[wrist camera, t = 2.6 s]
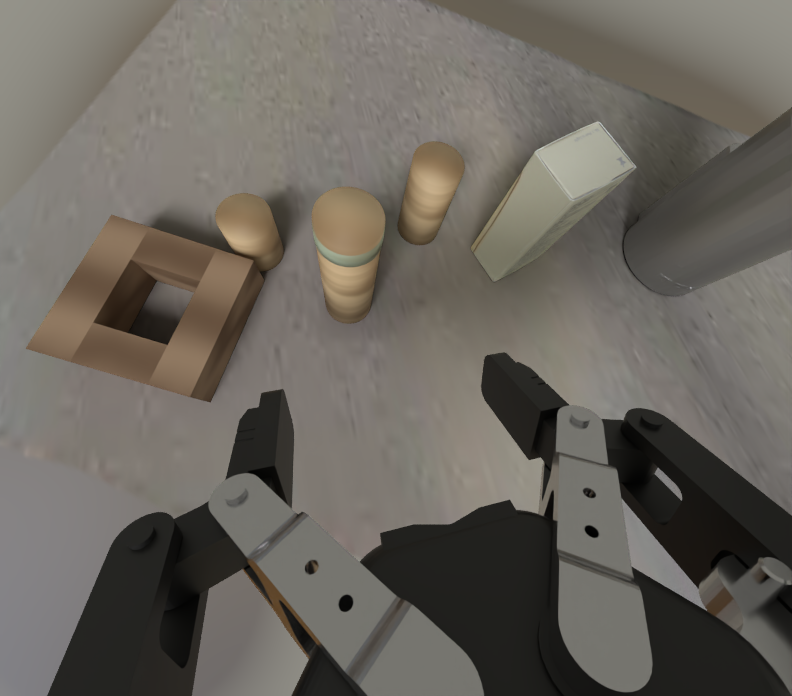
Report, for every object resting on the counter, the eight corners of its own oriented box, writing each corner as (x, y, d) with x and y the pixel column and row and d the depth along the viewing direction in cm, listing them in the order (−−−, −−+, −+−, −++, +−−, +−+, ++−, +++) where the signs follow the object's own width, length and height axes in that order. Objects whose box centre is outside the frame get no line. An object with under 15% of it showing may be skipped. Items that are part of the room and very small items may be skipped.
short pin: (247, 226, 30) (229, 186, 26) (290, 239, 31) (279, 203, 26) (229, 263, 29) (206, 228, 24) (273, 277, 29) (259, 246, 25)
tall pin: (333, 275, 30) (325, 176, 19) (377, 289, 30) (394, 200, 19) (318, 315, 29) (299, 236, 18) (363, 330, 29) (373, 260, 18)
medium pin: (403, 204, 33) (420, 134, 26) (441, 217, 33) (469, 152, 26) (392, 237, 32) (406, 174, 24) (432, 250, 32) (458, 192, 25)
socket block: (139, 240, 29) (111, 214, 25) (264, 280, 29) (253, 260, 26) (68, 360, 25) (25, 348, 22) (210, 402, 26) (189, 396, 23)
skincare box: (515, 225, 34) (600, 117, 23) (540, 259, 34) (641, 166, 22) (467, 249, 33) (532, 147, 21) (492, 286, 32) (574, 201, 21)
